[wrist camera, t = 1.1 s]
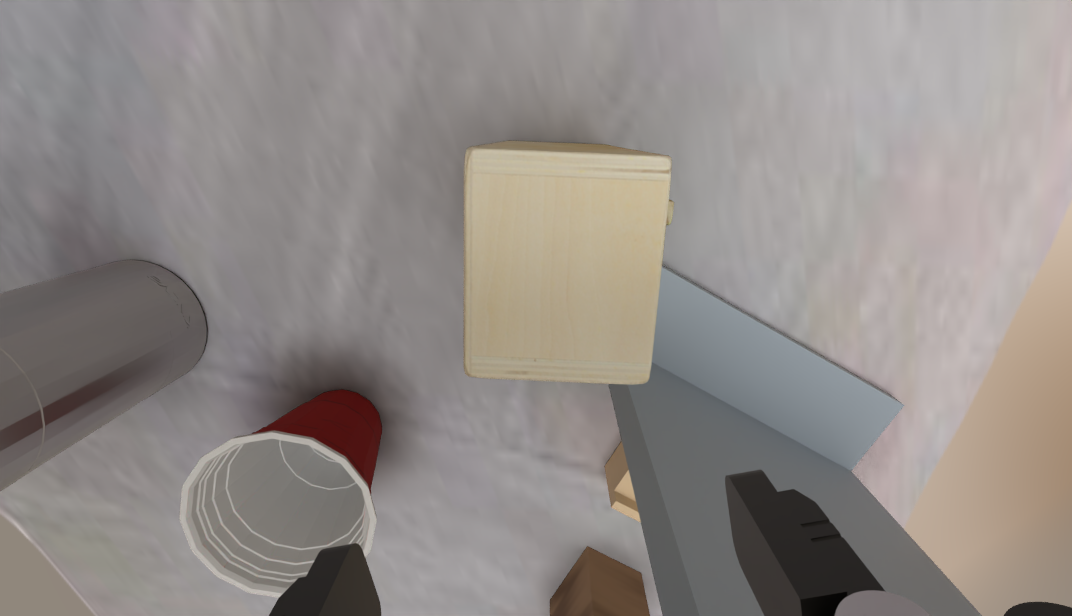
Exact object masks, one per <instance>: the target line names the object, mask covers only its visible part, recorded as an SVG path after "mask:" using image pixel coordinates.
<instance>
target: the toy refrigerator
mask: <svg viewBox="0 0 1072 616" xmlns="http://www.w3.org/2000/svg"><path fill="white" fill-rule="evenodd" d="M671 164H672V160H671V157H669V156H667V155H661V154H655V153H649V152H643V151H638V150H631V149H625V148H620V147H615V146H610V145H603V144H580V143H554V142H530V141H510V140H509V141H503V142H496V143H491V144H484V145H478V146H472V147H469V148H467V150H466V154H465V162H464V370H465V374H466V375H467V376H469V377H477V378H490V379H512V380H536V381H557V382H580V383H602V384H631V385H634V384H644V383H646V382H648V380H649V377H650V371H651V365H652V355H653V345H654V336H655V326H656V317H657V308H658V298H659V289H660V279H661V270H662V260H663V250H664V241H665V231H666V225H669V224H670V223H671V221H672V216H673V208H674V202H673V201H671V200H669V192H670V181H671Z"/></svg>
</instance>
